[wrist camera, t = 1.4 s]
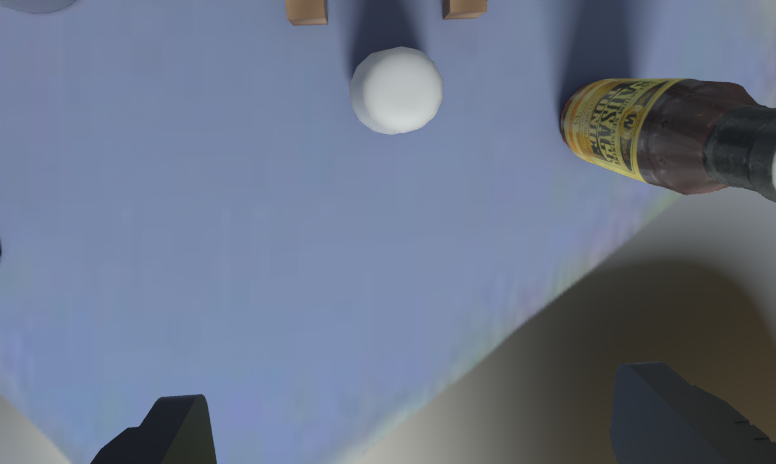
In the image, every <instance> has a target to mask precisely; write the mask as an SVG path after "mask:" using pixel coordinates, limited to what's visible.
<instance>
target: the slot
mask: <svg viewBox="0 0 776 464" xmlns="http://www.w3.org/2000/svg"><path fill="white" fill-rule="evenodd" d="M286 11H287V19H288V20H289V21H290V22H291V24H292V25H293V26H296V25H321V24H328V18H327V4H326V0H286ZM486 11H487V0H443V20H445V19H470V18H478V17H479V16H481V15H482V14H483V13H485V12H486Z"/></svg>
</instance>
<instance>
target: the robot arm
mask: <svg viewBox="0 0 776 464" xmlns="http://www.w3.org/2000/svg"><path fill="white" fill-rule="evenodd" d="M75 1H76V0H0V6H3V7H7V8H11V9H15V10H18V11H24V12H29V13H50V12H54V11H57V10H61V9H63V8H65V7H67V6H68V5H70V4H72V3H74V2H75ZM610 438H611V444H612V449H613V452H614V455H615V457H616V460H617V462H618V464H776V443H775V442H771V441H770V439H769V437H768V436H767V435H766V434H764V433H763V432H762V431H761V430H760V429H759V428H757V427H756V426H755V425H750V423H749V420H748V419H746V418H745V417H744V416H743V415H741V414H740V413H739V412H738V411H737V410H735V409H734V408H733V407H732V406H730V405H729V404H728V403H727V402H726V401H724V400H722V399H720V398H718V397H716V396H714V395H712V394H710V393H708V392H706V391H704V390H702V389H700V388H699V387H697V386H691V385H690V384H689V383H688V382H687V381H686V380H684V379H683V378H682V377H681V376H680V375H679V374H677V373H676V372H675V371H674V370H673V369H672V368H670V367H669V366H668V365H667V364H665V363H663V362H647V363H632V364H622V365H620V366H619V367H618V369H617V372H616V377H615V387H614V398H613V408H612V418H611V428H610ZM90 464H217V461H216V454H215V448H214V442H213V436H212V430H211V423H210V417H209V411H208V405H207V401H206V399H205V397H204V395H202V394H199V395H184V396H170V397H161V398H159V399H158V400H157V401H156V402H155V404H154V405H153V407H152V408H151V410H150V411H149V413H148V414H147V416H146V417H145V419H144V420H143V422H142V423H141V425H140V426H139V427H132V428H127V429H126V430H124V431H123V432H122V433H120V434H119V435H118V436H117V437H115V438H114V439H113V440H112V441H110V442H109V443H108V444H107V445H105V446H104V447H103V448H101V450H100V451H99V452H98V454H97V455H96V456H95V458H94V459H93V461H92V462H91V463H90Z"/></svg>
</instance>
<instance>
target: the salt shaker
mask: <svg viewBox="0 0 776 464" xmlns="http://www.w3.org/2000/svg"><path fill="white" fill-rule="evenodd" d="M349 85H350V98H351V105H352V107H353V109H354V111H355V113H356V115H357V117H358V119H359V120H360V121H361V122H362V123H364V124H365V125H366V126H368V127H369V128H371V129H372V130H373V131H375V132H380V133H385V134H390V135H393V134H397V133H405V132H409V131H412V130H416V129H419V128H421V127H423V126H424V125H425V124H426V123H427V122H428V121H430V120H431V119H432V118H433V117H434V116H435V114H436V112H437V110H438V108H439V105H440V103H441V101H442V78H441V75H440V73H439V71H438V69H437V67H436V65H435V63H434V62H433V61H432V60H431V59H430V58H428V57H427V56H426V55H425V54H424V53H422V52H421V51H420V50H417V49H412V48H407V47H402V46H400V47H396V48H393V49H386V50H382V51H378V52H374V53H371V54H370V55H369V56H368V57H367V58H366V59H364V60H363V61H362V62H361V63H360V64H359V65H358V66H357V68H356V70H355V73H354V75H353V77H352V80H351V82H350V84H349Z"/></svg>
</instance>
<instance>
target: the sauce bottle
mask: <svg viewBox="0 0 776 464" xmlns="http://www.w3.org/2000/svg"><path fill="white" fill-rule="evenodd" d="M561 132H562V138H563V141H564V142H565V143H566V144H567V146H568V147H569V148H570V150H571V151H573V152H574V153H575V154H576V155H577V156H578V157H580V158H581V159H583V160H585V161H588V162H591V163H593V164H596V165H599V166H602V167H604V168H607V169H609V170H612V171H615V172H617V173H620V174H623V175H625V176H628V177H631V178H634V179H637V180H640V181H643V182H646V183H649V184H652V185H655V186H661V187H664V188H667V189H670V190H673V191H676V192H678V193H681V194H684V195H690V194H701V193H710V192H714V191H718V190H720V189H723V188H726V187H729V186H731V187H737V188H741V187H742V188H745V189H749V190H752V191H756V192H758V193H760V194H761V195H762V196H764V197H765V198H767V199H769V200H771V201H774V202H776V108H768V107H766V106H762V105H759V104H758V103H756V101H755V100H754V99H753V98H752V97H751V96H750V95H749V94H748V93H747V92H746V90H745V89H744V87H742V86H740V85H738V84H735V83H731V82H713V81H699V80H695V79H673V78H669V79H604V80H600V81H597V82H594V83H591V84H588V85H584V86H582V87H581V88H580V89H579V90H577V91H576V92H575V93H574V95H572V96H571V98H570V99H569V100H568V101H567V103H566V104H565V108H564V109H563V111H562V116H561Z"/></svg>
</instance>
